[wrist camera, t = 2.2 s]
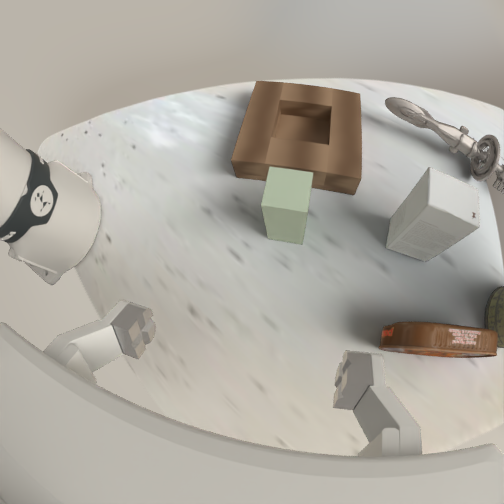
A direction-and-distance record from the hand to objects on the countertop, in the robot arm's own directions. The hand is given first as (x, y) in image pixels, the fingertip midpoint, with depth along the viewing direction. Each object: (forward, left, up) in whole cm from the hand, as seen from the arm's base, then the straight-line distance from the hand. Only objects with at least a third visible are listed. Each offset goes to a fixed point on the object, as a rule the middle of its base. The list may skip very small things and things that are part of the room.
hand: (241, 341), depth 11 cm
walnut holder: (0, +26, -19) cm, 32 cm away
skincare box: (+15, +14, -20) cm, 28 cm away
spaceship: (+28, +28, -20) cm, 44 cm away
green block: (0, +13, -19) cm, 23 cm away
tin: (+19, +2, -20) cm, 27 cm away
